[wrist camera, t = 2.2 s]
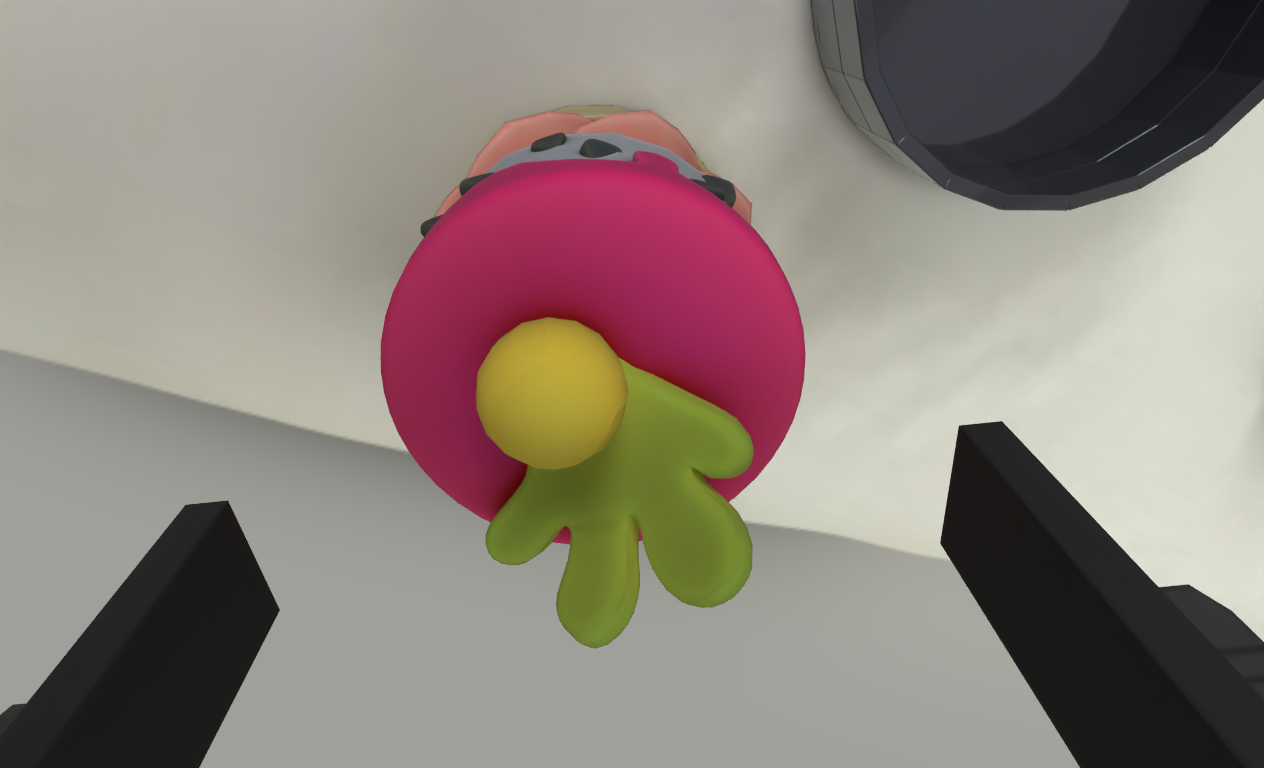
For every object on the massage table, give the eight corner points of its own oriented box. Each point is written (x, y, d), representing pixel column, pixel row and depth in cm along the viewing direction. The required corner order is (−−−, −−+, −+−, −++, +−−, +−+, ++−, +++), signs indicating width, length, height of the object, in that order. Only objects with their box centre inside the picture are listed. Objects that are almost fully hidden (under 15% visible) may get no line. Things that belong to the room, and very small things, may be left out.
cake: (392, 252, 26) (191, 524, 13) (584, 19, 22) (572, 67, 9) (602, 414, 30) (611, 748, 17) (793, 236, 26) (990, 483, 13)
